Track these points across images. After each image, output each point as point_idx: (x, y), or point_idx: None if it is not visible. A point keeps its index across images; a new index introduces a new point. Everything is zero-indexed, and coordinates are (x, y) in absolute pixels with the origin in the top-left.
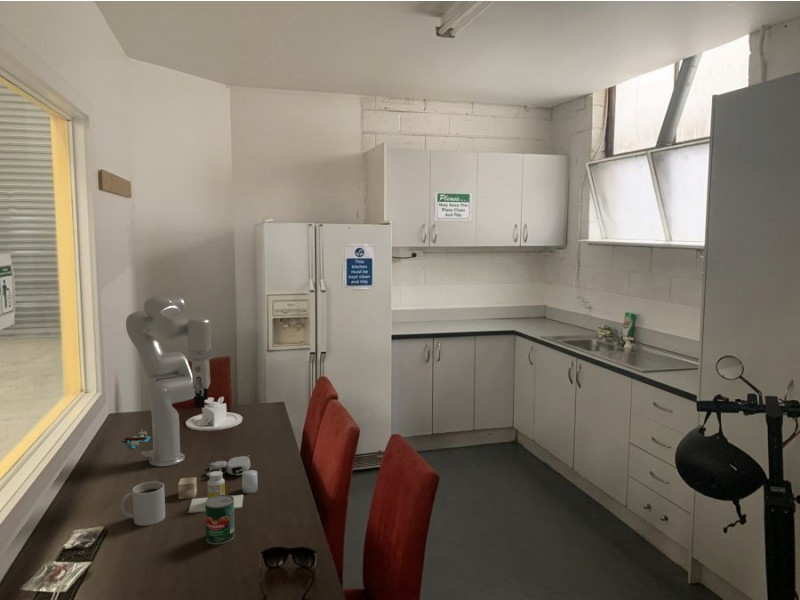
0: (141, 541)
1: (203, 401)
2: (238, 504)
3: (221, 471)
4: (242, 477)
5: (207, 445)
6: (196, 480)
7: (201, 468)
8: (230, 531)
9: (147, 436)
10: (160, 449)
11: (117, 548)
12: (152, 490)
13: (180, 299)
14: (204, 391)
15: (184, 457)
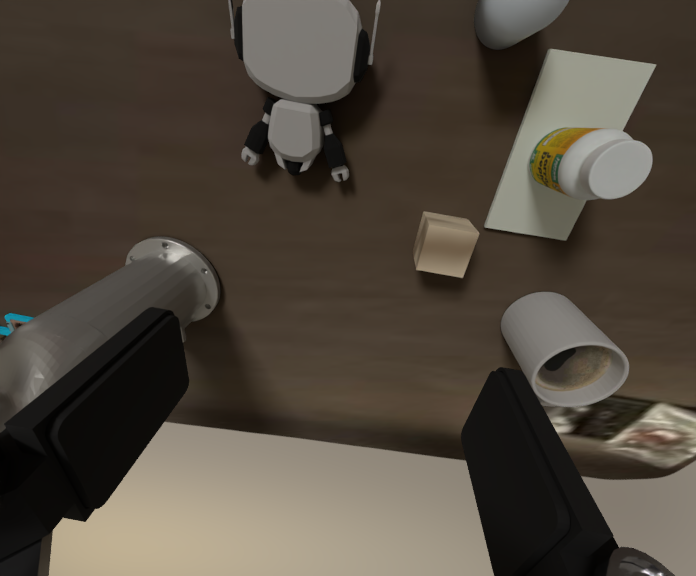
0: (644, 335)
1: (553, 440)
2: (627, 77)
3: (330, 126)
4: (527, 35)
5: (42, 160)
6: (428, 221)
7: (247, 190)
8: None
9: (7, 320)
10: (184, 318)
11: (639, 371)
12: (554, 356)
13: None
14: (102, 420)
15: (165, 238)
